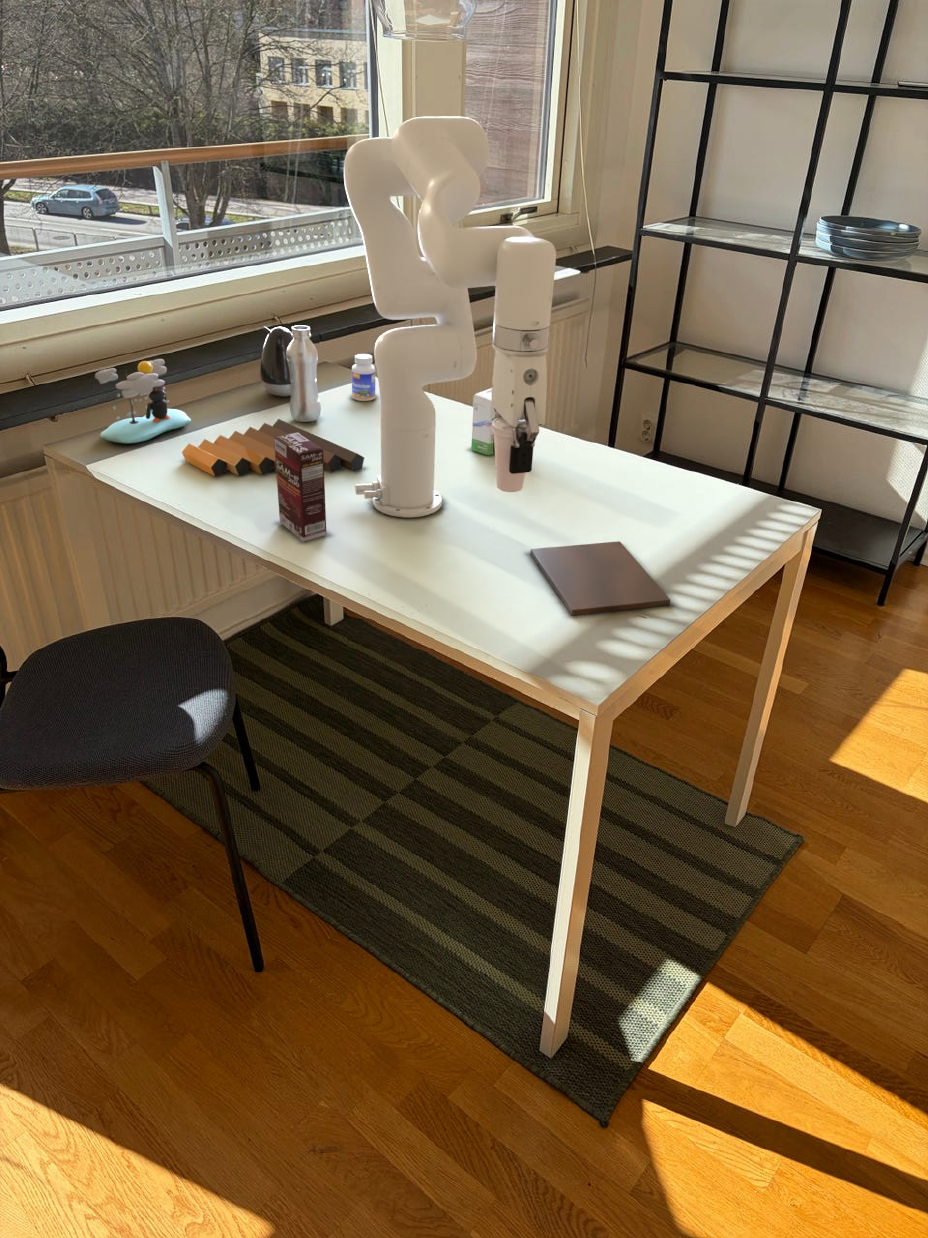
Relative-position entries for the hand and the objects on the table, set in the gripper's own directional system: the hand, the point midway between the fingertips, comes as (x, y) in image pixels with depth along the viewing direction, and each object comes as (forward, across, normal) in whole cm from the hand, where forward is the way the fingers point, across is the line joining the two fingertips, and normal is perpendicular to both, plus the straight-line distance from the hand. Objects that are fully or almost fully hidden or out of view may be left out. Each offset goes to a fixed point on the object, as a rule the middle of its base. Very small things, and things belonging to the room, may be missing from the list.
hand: (511, 461), depth 137 cm
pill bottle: (+22, +93, +2) cm, 96 cm away
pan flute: (+22, +57, +28) cm, 67 cm away
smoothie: (+4, 0, 0) cm, 4 cm away
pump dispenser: (+22, +100, +20) cm, 104 cm away
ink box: (+22, +57, -18) cm, 64 cm away
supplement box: (+22, +28, +27) cm, 44 cm away
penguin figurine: (+22, +80, +51) cm, 97 cm away
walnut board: (+21, 0, -16) cm, 27 cm away
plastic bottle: (+22, +80, +18) cm, 85 cm away
